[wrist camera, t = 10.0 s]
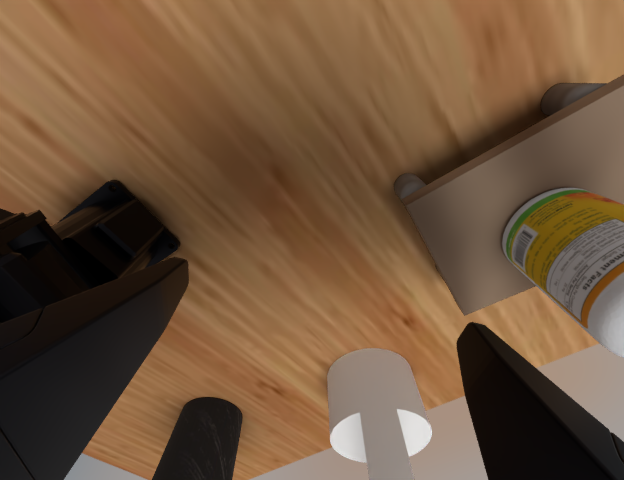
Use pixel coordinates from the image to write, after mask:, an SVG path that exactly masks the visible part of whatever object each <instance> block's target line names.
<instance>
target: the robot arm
mask: <svg viewBox="0 0 624 480" xmlns="http://www.w3.org/2000/svg"><path fill="white" fill-rule="evenodd" d="M112 185H113V186H114V187H115V188H116V190H114V189H113V188H112ZM45 219H47V218H46V217H45V216H44V215H43V213H42V212H41V211H40V210H37V211H35V212H32V213H29V214H26V215H25V214H24V213H23V212H22V213H19V214H17V213H16V214H14V213H11V212H8V211H6V210H3V209H0V480H64V478H65V477H66V475H67V474H68V472H69V471H70V469H71V468H72V466H73V465H74V463H75V462H76V460H77V459H78V458H79V456H80V455H81V453H82V452H83V450H84V449H85V447H86V446H87V444H88V443H89V441H90V440H91V438H92V437H93V435H94V434H95V432H96V431H97V429H98V428H99V426H100V425H101V424H102V422H103V421H104V419H105V418H106V416H107V415H108V413H109V412H110V410H111V409H112V407H113V406H114V404H115V403H116V401H117V400H118V398H119V397H120V395H121V394H122V392H123V391H124V389H125V388H126V387H127V385H128V384H129V382H130V381H131V379H132V378H133V376H134V375H135V373H136V372H137V370H138V369H139V367H140V366H141V364H142V363H143V361H144V360H145V358H146V357H147V355H148V354H149V353H150V351H151V350H152V348H153V347H154V345H155V344H156V342H157V341H158V339H159V338H160V336H161V335H162V333H163V332H164V330H165V328H166V327H167V325H168V323H169V321H170V319H171V317H172V315H173V313H174V312H175V310H176V308H177V306H178V304H179V302H180V300H181V298H182V296H183V294H184V292H185V291H186V289H187V286H188V283H189V271H188V261H187V260H185V259H181V258H177V257H173V258H170V259H167V260H165V261H162V262H160V261H161V260H163V259H164V258H166V257H167V256H169V255H170V254H172V253H173V252H175V251H176V250H177V249H178V248H179V247H180V242H179V241H178V240H177V239H176V238H175V237H174V236H173V235H172V234H171V233H170V232H169V231H168V230H167V229H166V228H165V227H164V226H163V225H162V224H161V223H160V222H159V221H158V220H157V219H156V218H155V217H154V216H153V215H152V214H151V213H150V212H149V211H148V210H147V209H146V208H145V207H144V206H143V205H142V204H141V203H140V202H139V201H138V200H137V199H136V198H135V197H134V196H133V195H132V194H131V193H130V192H129V191H128V190H127V189H126V188H125V187H124V186H123V185H122V184H121V183H120V182H118V181H116V180H111V181H109V182H107V183H105V184H104V185H103V186H102V187H100V188H99V189H98V190H97V191H96V192H94V193H93V194H92V195H91V196H89V197H88V198H87V199H86V200H85V201H83V202H82V203H81V204H80V205H79V206H77V207H76V208H75V209H74V210H73V211H71V212H70V213H69V214H68V215H66V216H65V217H64V218H63V219H62V220H60V221H59V222H58V223H57V224H55V225H53V226H52V227H51V226H50V225H49V224H48V223H47V221H46V220H45ZM170 243H172V244H174V246H172V245H171V244H170ZM158 262H160V263H158ZM457 352H458V358H459V364H460V370H461V376H462V382H463V387H464V392H465V397H466V401H467V404H468V408H469V411H470V415H471V418H472V422H473V426H474V430H475V433H476V437H477V440H478V444H479V447H480V451H481V455H482V458H483V462H484V465H485V469H486V473H487V476H488V480H624V442H623V441H622V440H621V439H620V438H618V437H617V436H616V435H615V434H614V433H610V431H609V429H608V428H606V427H605V426H604V425H603V424H602V423H600V422H599V421H598V420H597V419H596V418H595V417H593V416H592V415H591V414H590V413H588V412H587V411H586V410H585V409H584V408H582V407H581V406H580V405H579V404H578V403H577V402H575V401H574V400H573V399H572V398H571V397H570V396H568V395H567V394H566V393H565V392H564V391H562V390H561V389H560V388H559V387H558V386H556V385H555V384H554V383H553V382H552V381H550V380H549V379H548V378H547V377H546V376H544V375H543V374H542V373H541V372H540V371H538V370H537V369H536V368H535V367H534V366H533V365H531V364H530V363H529V362H528V361H527V360H526V359H524V358H523V357H522V356H521V355H520V354H518V353H517V352H516V351H515V350H514V349H512V348H511V347H510V346H509V345H508V344H507V343H505V342H504V341H503V340H502V339H501V338H499V337H498V336H497V335H496V334H495V333H493V332H492V331H491V330H490V329H489V328H487V327H486V326H485V325H483V324H479V323H474V322H470V323H468V324H467V326H466V327H465V329H464V330H463V332H462V333H461V335H460V337H459V338H458V340H457Z"/></svg>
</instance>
